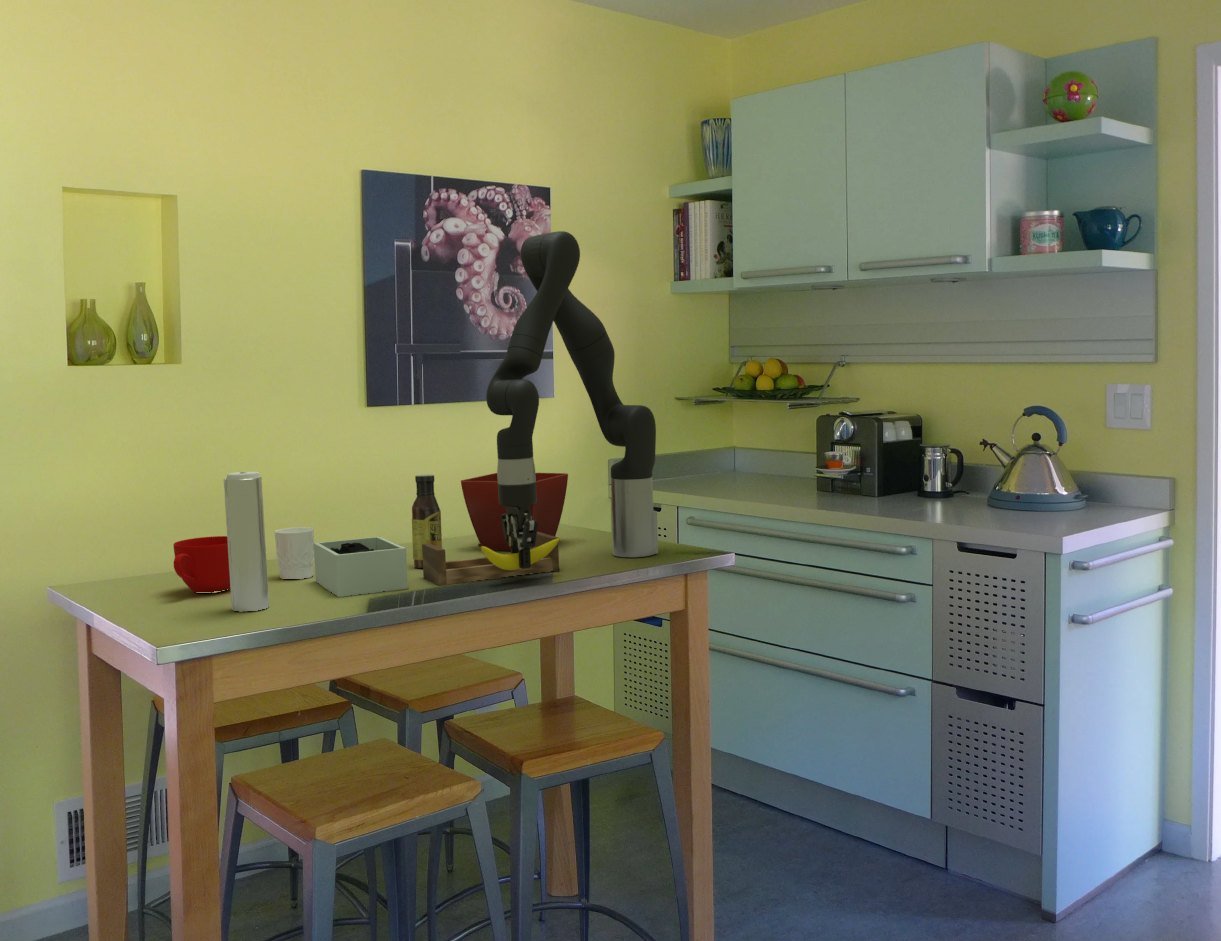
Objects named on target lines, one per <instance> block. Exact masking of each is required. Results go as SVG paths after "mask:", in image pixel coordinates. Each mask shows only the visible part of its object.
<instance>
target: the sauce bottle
mask: <svg viewBox="0 0 1221 941" xmlns="http://www.w3.org/2000/svg"><path fill="white" fill-rule="evenodd" d="M415 484H416V485H415V486H416V498H415V500H414V501H413V504H412V506H411V535H412V536H411V537H412V538H411V539H412V559H413V565H414V568H416V569H423V555H422V544H426V543H430V544H432V545H435V546H437V547H440V548H442V549H443V542H442V539H443V538H442V537H443V535H442V514H441V509H440V506H439V503H438V500H437V498H436V495H435V474H416V475H415Z"/></svg>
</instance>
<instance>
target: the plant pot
mask: <svg viewBox="0 0 1221 941" xmlns="http://www.w3.org/2000/svg"><path fill="white" fill-rule="evenodd" d="M535 475H536V495H537V502H536V503H535V504H533V505H530V507H529V508H530V512H531V517H532V520H537V521H538V527H537V532H541V533H544V534H548V535H551V536H555V537H557V536H556V535H557V533H558V529H559V525H560V522H561V518H562V515H563V511H564V507H565V506H564V505H565V500H566V494H567V487H568V479H569V473H567V472H566V473H565V472H563V473H559V472H535ZM460 485H461V489H462V495H463V499H464V503H465V506H466V510H467V512H468V517H469V518H470V522H471V525H472V527H473V531H474V533H475V535H476V538H477V540H478V544H481V545H482V546H484V547H487V548H489V549H491V550H493V551H499V550H503V551H502V552H511V547H509V542H508V543H506V541H505V537H504V532H503V527H502V522H501V514H506V509H507V507H505V506H501V505H500V504H499V497H498V478H497V472H495V473H490V474H484V475H480V476H475V477H471V478H466V479H462V480H460ZM531 549H533V547H532V548H531Z"/></svg>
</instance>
